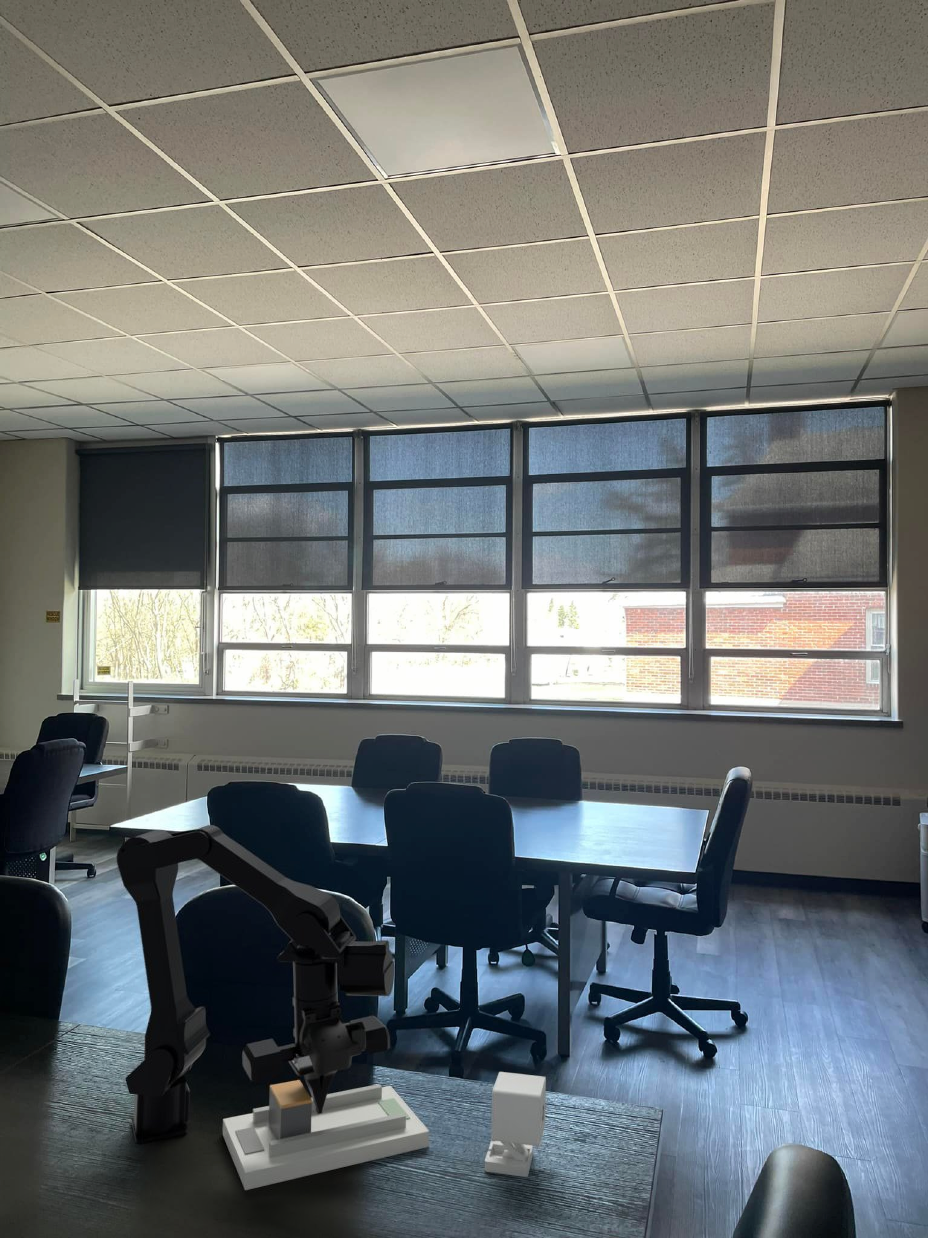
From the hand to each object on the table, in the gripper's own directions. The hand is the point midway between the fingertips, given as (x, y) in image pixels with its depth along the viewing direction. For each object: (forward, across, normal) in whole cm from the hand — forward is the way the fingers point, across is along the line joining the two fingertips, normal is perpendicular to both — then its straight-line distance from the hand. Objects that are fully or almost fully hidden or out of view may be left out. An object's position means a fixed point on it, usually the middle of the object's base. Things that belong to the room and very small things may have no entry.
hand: (319, 1113), depth 117 cm
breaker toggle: (+1, -4, 0) cm, 4 cm away
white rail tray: (+4, +1, 0) cm, 4 cm away
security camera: (+5, +21, -15) cm, 26 cm away
